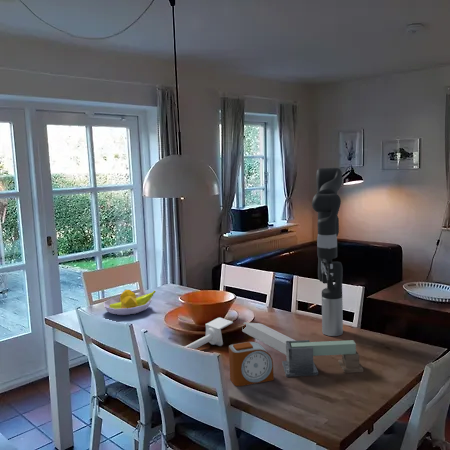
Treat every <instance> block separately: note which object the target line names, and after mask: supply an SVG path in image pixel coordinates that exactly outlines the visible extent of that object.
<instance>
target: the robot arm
mask: <svg viewBox="0 0 450 450" xmlns="http://www.w3.org/2000/svg"><path fill="white" fill-rule="evenodd" d="M315 177H316V183H315V184H316V194H314V196H313V197H312V200H311V206H312V208H313V211H315V212H316V213H317V238H316V242H317V243H316V245H317V246H316V247H317V249H316V252H317V258H318V260H317V261H318V263H317V277H318V281H320V282H321V283H323V284H325V285H326V287H325V288H323V289H322V290H321V329H322V330H321V332H322V334H323V335H326V336H329V337H339V336H341V335H343V332H344V329H343V328H344V325H343V324H344V321H343V320H344V319H343V315H344V314H343V313H344V312H343V306H344V305H343V276H344V275H343V274H344V273H343V271H344V269H343V264H342V262H341V261H333V259H336V258H338V236H339V233H340V232H339V231H340V225H339V224H340V221H339V219H340V218H339V216H338V215H339V211H340V208H341V205H342V203H341V202H342V201H341V197H340V195H339V194H338V192H339V190H340V188H341V187H342V183H343V173H342V170H341V169H340V168H339V167H321V168H320V167H319V168H318V169H317V170H316V176H315Z"/></svg>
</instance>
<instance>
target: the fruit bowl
mask: <svg viewBox="0 0 450 450" xmlns="http://www.w3.org/2000/svg"><path fill="white" fill-rule="evenodd" d="M155 293H156V290H153V291H152V292H150V293H146V294H136V293H135V292H133V291H132V290H131V289H125V290H123V292H121V294H120V295H119V296H115V297H111V298H109V299H107V300H105V301H104V302H103V307H104V308H105V310H106V312H109V313H110V314H114V315H116V314H117V316H130V314H134V315H137V314H139V313H140V312H143V311H145V310H147V309H148V308H149V307H150V305H151V304H152V302H153V299H152V297H154V294H155ZM136 313H137V314H136Z"/></svg>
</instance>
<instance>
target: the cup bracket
mask: <svg viewBox="0 0 450 450" xmlns="http://www.w3.org/2000/svg"><path fill="white" fill-rule="evenodd" d="M302 342H311V341H310V340H309V339H306V340H305V339H304V340H296V341H286V355H285V356H286V358H285V359H286V360H282V361H281V365H282V367H283V371H284V374H285V378H288V377H308V376H309V377H311V376H312V377H313V376H319V370H318V369H317V365H315V362H314V356H313V347H305V348H291V343H302Z"/></svg>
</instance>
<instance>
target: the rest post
mask: <svg viewBox="0 0 450 450" xmlns="http://www.w3.org/2000/svg"><path fill="white" fill-rule="evenodd" d="M338 364H339V366H340V368H341V369H342V371H343V373H344V374H349V373H364V368H363V366H362V365H361V363H360V354H359V353H358V352H357V350H356V354H345V355H341V359H338Z"/></svg>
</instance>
